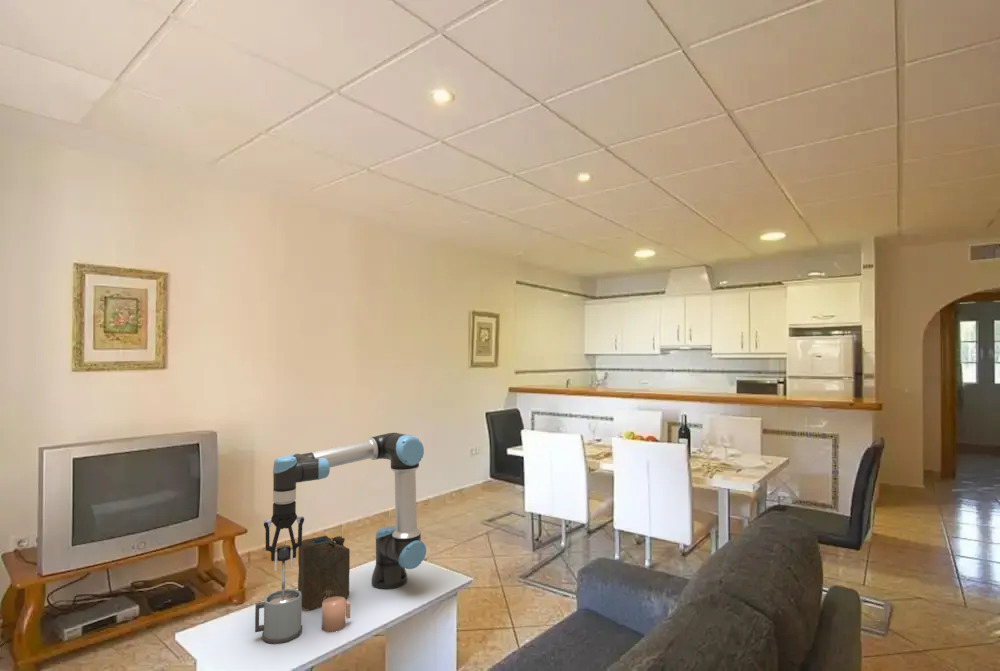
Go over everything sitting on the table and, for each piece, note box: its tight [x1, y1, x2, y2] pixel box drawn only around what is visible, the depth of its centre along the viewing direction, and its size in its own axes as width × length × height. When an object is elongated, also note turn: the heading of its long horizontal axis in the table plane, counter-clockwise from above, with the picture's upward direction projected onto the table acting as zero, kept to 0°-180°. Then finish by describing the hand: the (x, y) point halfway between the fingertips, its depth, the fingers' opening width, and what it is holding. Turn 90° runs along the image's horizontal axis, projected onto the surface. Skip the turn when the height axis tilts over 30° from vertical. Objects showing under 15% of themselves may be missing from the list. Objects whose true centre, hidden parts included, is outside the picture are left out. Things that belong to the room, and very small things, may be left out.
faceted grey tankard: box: [254, 588, 303, 645], centre depth 186 cm, size 15×13×13 cm
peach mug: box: [321, 596, 351, 633], centre depth 192 cm, size 10×8×9 cm
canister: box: [297, 535, 351, 611], centre depth 212 cm, size 19×8×25 cm, turn 129°
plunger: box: [269, 544, 297, 604], centre depth 187 cm, size 9×9×18 cm
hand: (283, 568), depth 187 cm, fingers closed on plunger, 4 cm apart
